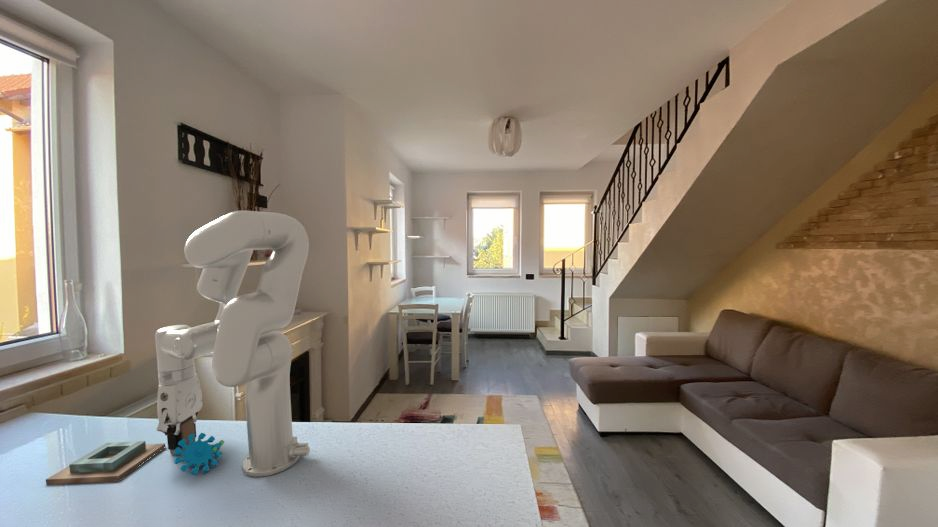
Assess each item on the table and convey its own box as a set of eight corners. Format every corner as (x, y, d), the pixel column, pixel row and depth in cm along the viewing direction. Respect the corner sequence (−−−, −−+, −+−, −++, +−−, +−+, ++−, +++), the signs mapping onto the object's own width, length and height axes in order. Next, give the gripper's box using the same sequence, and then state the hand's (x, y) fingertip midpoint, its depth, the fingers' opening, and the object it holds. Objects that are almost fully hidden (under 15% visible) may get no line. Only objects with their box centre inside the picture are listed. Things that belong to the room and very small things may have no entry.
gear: (184, 478, 85) (169, 439, 88) (172, 493, 86) (157, 454, 90) (234, 459, 95) (218, 424, 98) (222, 472, 96) (207, 438, 100)
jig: (165, 447, 101) (164, 436, 101) (118, 481, 87) (117, 467, 87) (103, 450, 101) (102, 438, 101) (46, 484, 87) (44, 470, 87)
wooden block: (196, 447, 101) (194, 417, 101) (184, 455, 97) (181, 424, 97) (182, 446, 102) (180, 417, 101) (169, 455, 98) (167, 424, 97)
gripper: (167, 386, 90) (173, 461, 91) (213, 363, 107) (217, 427, 108) (134, 387, 90) (141, 463, 91) (185, 364, 107) (190, 428, 108)
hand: (182, 442), depth 99 cm, fingers closed on wooden block, 4 cm apart
